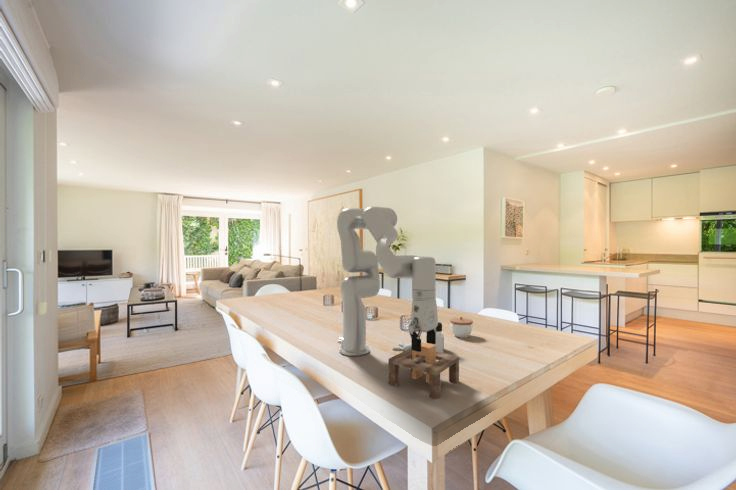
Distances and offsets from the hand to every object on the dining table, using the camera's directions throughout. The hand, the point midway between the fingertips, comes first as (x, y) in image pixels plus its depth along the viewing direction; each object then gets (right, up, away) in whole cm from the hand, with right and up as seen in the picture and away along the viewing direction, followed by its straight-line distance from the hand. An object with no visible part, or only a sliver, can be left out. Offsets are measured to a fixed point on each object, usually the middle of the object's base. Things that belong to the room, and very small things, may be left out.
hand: (423, 346), depth 105 cm
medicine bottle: (+10, -12, +32) cm, 35 cm away
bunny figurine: (0, -12, +24) cm, 27 cm away
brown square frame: (0, -12, 0) cm, 12 cm away
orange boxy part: (0, -10, 0) cm, 10 cm away
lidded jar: (+28, -12, +54) cm, 61 cm away
